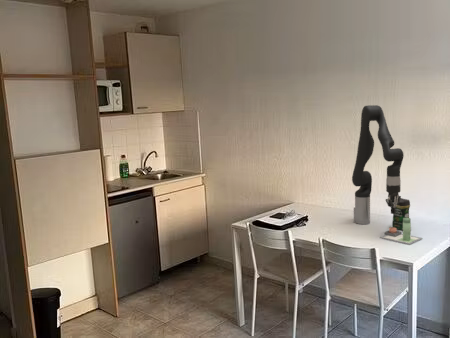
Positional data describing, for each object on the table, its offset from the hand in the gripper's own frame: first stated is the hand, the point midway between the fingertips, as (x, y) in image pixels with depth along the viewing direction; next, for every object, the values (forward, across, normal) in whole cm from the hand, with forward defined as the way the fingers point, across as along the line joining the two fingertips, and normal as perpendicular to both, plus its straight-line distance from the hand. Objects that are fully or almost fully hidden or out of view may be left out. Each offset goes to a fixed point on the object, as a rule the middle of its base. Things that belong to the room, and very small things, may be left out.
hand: (393, 213), depth 254 cm
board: (+13, +2, +6) cm, 15 cm away
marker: (+12, +4, +10) cm, 17 cm away
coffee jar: (+13, -16, -4) cm, 21 cm away
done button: (+11, 0, 0) cm, 11 cm away
